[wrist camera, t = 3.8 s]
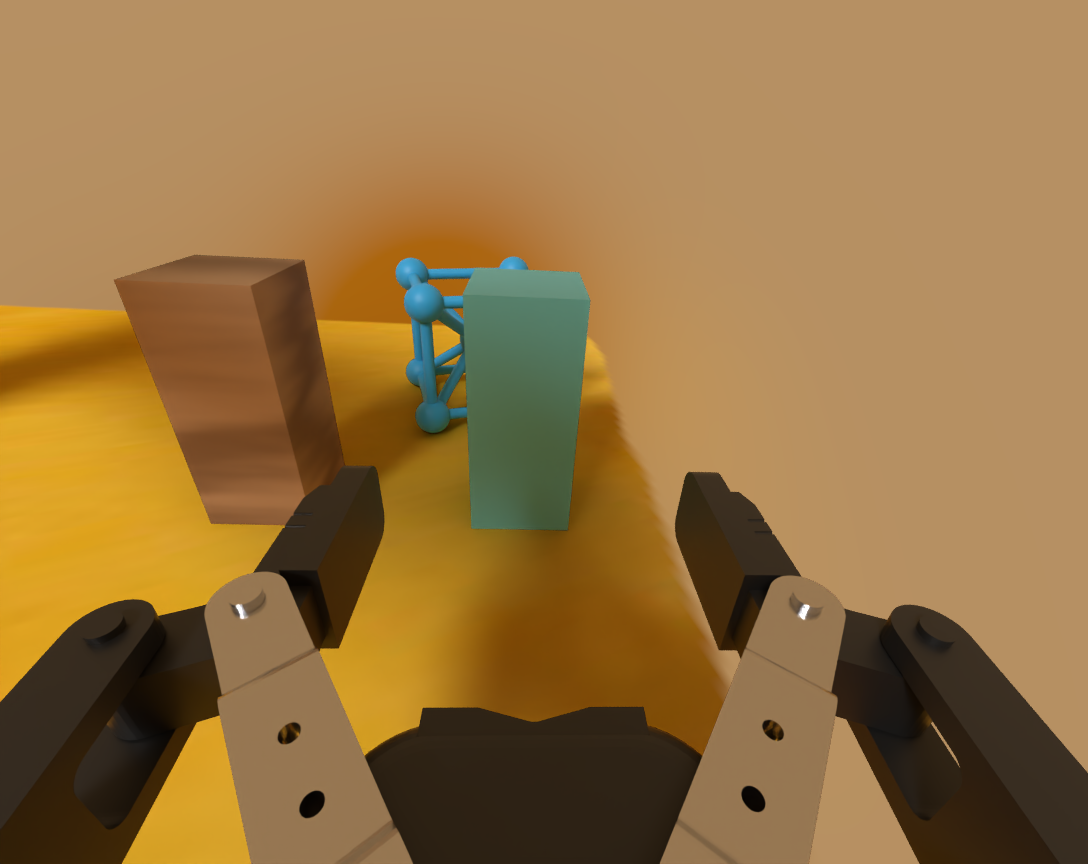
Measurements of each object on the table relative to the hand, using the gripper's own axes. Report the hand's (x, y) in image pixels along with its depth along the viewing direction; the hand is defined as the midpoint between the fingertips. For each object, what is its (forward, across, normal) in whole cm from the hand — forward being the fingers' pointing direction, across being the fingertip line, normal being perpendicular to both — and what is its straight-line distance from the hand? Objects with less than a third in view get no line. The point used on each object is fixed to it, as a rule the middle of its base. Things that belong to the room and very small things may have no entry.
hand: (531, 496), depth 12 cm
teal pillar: (+11, 0, +9) cm, 15 cm away
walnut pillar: (+11, +13, +9) cm, 20 cm away
